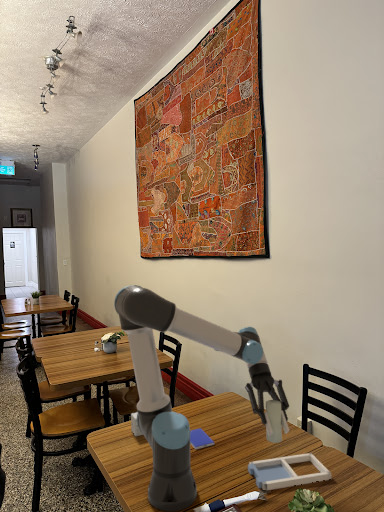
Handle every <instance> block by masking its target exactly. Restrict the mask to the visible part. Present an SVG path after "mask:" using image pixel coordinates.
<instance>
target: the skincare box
mask: <svg viewBox="0 0 384 512" xmlns="http://www.w3.org/2000/svg"><path fill="white" fill-rule="evenodd" d="M137 413H138V411H136V412H132V413H130V420H131V421H130V422H131V423H130V425H131V432H132V434H133V433H134V434H133V435H134V437H139V436H144V435H143V434H142V433H141V431H140V429H139V427H138V424H137Z"/></svg>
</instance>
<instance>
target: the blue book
mask: <svg viewBox="0 0 384 512" xmlns="http://www.w3.org/2000/svg"><path fill="white" fill-rule="evenodd" d="M214 445H215V441H214V440H213V439H212V438H211V437H210V436H209V435H208V434H207V433H206V432H205V431H204V430H203V429H202V428H201V427H200V428H196V429H192V430H191V429H190V446H192V447H193V449H195V450H198V449H202V448H206V447H209V446H214Z"/></svg>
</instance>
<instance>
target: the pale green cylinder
mask: <svg viewBox="0 0 384 512" xmlns="http://www.w3.org/2000/svg"><path fill="white" fill-rule="evenodd" d="M265 412H267V414H268V418H269V421H270V424H271V427H272V431H273V433H272V435H271V436H268V432H267V429H266V434H265V435H266V440H267V441H268V442H270V443H272V444H273V443H274V444H277V443H278V444H279V443H281V442H282V441H283V433H282V432H283V430H282V429H283V427H282V420H281V402H279V401H277V400H273V399H269V400H266V401H265Z"/></svg>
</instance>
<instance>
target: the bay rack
mask: <svg viewBox="0 0 384 512" xmlns="http://www.w3.org/2000/svg"><path fill="white" fill-rule="evenodd" d="M304 462H311V463H312V465H313V466H314V467H315V468H316V469H317V470H318V471H319V472H316V473H311V474H310V473H309V474H303V475H298V474H297V473H296V472H295V471H294V470H293V469H292V466H290V465H292V464H296V463H297V464H298V463H304ZM247 471H248V473H249V475H250V476H252V475H253V477H254V478H255V484H256V487H257V488H258V489H259V490H260V489H262V491H263V490H266V491H271V490H278V489H283V488H288V487H295V486H294V485H296V486H301V484H302V485H307V484H312V482H313V483H317V482H316V481H319V482H324V481H323V480H325V481H329V479H331V480H332V473H331V471H330V470H329V469H328V468H327V467H326V466H325V465H323V463H322V462H321V461H319V459H318V458H317V457H316V456H315V455H314V454H313V453H312V452H309V453H302V454H301V453H300V454H296V455H295V454H294V455H288V456H280V457H274V458H268V459H262V460H255V461H254V460H253V461H249V462H248V464H247Z"/></svg>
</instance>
